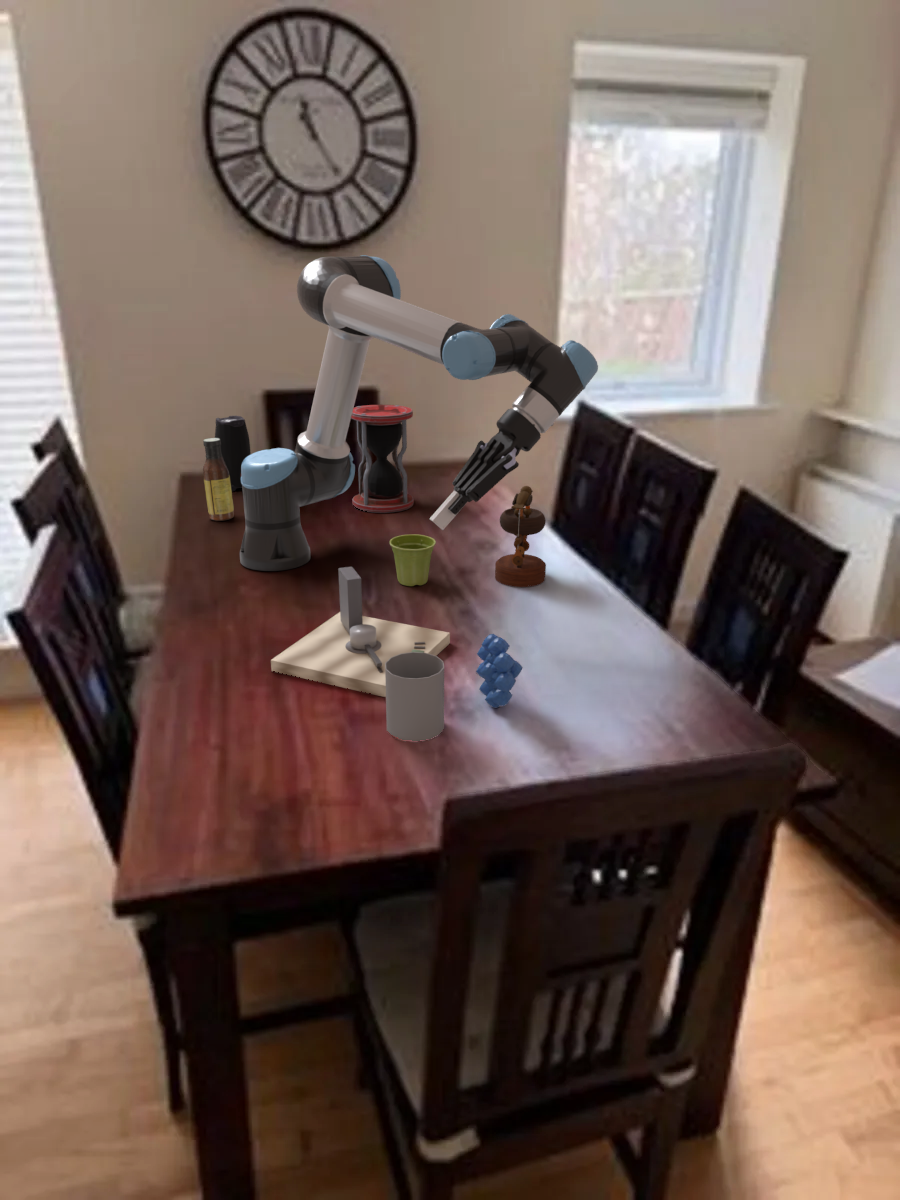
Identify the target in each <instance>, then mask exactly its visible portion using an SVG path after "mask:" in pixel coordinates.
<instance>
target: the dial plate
mask: <svg viewBox="0 0 900 1200" xmlns="http://www.w3.org/2000/svg"><path fill="white" fill-rule="evenodd" d="M362 619H363V624H367V625H372V626H374V627H375V628H376V646H374V647H373V648H372V649H373V651H374V652H375V654H376V655H377V656H378V658H379V659H380V661H381V662H382V666H381V667H377V666H376V665H375V663H374V662H373V660H372V659H371V657H370V656H369V654H368V653H367V651H366V650H365V649H355V648H353V647H351V645H350V634H349V633H348V631H347V630H346V628H345V627H344V625H343V624H342V622H341V617H340V611H339V612H337V613H336V614H335V615H334V616H332V617H331V618H329V619H327V620H326V621H325V622H323V623H322V624H321V625H319V626H318V627H316V628H315V629H313V630H311V631H310V632H309V633H308V634H305V636H303V637H302V638H300V639H299V640H297V641H296V642H295V643H293V644H292V645H290V646H289V647H287V648H286V649H285V650H283V651H282V652H281V653H279V654H277V655H275V656H274V657H273V658H272V659H270V668H271V672H273V671H275V672H274V673H278V672H279V673H278V674H282V673H283V675H286V674H287V676H291V675H292V676H291V677H295V676H296V678H299V677H300V679H305V680H308V679H309V680H308V681H312V680H313V681H314V682H317V681H318V683H321V682H322V684H326V685H331V686H334V685H335V687H339V688H343V689H347V688H348V689H349V690H352V691H357V692H361V691H362V692H361V693H365V692H366V693H365V694H369V693H371V694H370V695H375V696H378V697H384V698H386V677H385V663H386V662H387V661H388V660H389V659H390V658H391V657H393V656H396V655H399V654H402V653H410V652H420V653H428V654H431V655H435V656H437V657H438V655H439V654H441V652H442V651H443V650H444V649H445V648H446V647H447V646H449V644H450V642H451V632H448V631H443V630H437V629H432V628H427V627H423V626H417V625H412V624H406V623H402V622H396V621H391V620H386V619H380V618H375V617H369V616H365V615H362ZM313 681H312V682H313ZM348 689H347V690H348Z"/></svg>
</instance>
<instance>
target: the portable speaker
mask: <svg viewBox="0 0 900 1200" xmlns="http://www.w3.org/2000/svg"><path fill="white" fill-rule="evenodd" d="M245 419H246V418H244V417H243V416H241V415H229V416H227V417H216V418H215V431H214V438H218V439H220V442H221V445H220V447H221V454H222V457H223V460H224V462H225V464H226V467H227V469H228V471H229V476H230V483H231V491H232V492H235V491H236V490H237V489H241V488H242V484H241V465H242V462H243V460H244V459H245V458H246V457H247V456H249V455H251V454H252V453H251V443H250V436H249V432H248V428H247V424H246V420H245Z"/></svg>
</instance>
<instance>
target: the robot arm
mask: <svg viewBox="0 0 900 1200" xmlns="http://www.w3.org/2000/svg"><path fill="white" fill-rule="evenodd" d="M296 283H297V284H296V295H297V299H298V302H299V304H300V307H301V308H302V311H304V312H305V314H307V316H309V317H310V318H311V319H312V320H315V321H317V322H319V323H320V324H321V323H322V324H323V325H326V326H327V327H328V332H327V337H326V341H325V345H324V350H323V355H322V359H321V365H320V368H319V372H318V377H317V381H316V388H315V390H314V391H315V392H314V395H313V400H312V405H311V410H310V414H309V418H308V419H309V420H308V423H307V428H306V430H305V431H303V432H301V433H300V434H299V435H298V436H297V440H296V446H295V449H294V450H292V449H289V448H286V447H285V448H283V447H276V448H271V449H262V450H258V451H255V452H253V453H251V455H249V456H247V457H246V458H245V459H244V460H243V462H242V465H241V484H242V489H241V490H242V498H243V510H244V519H245V520H244V521H245V529H244V532H243V537H242V541H241V545H240V550H239V560H240V561H239V562H240V564H241V565H242V566H243V567H245V568H247V569H250V570H253V571H262V572H277V571H279V572H281V571H287V570H293V569H295V568H298V567H299V568H300V567H301V566H303V565H306V564H307V563H309V561H310V560H311V547H310V544H309V543H308V541H307V537H306V534H305V533H304V532H305V531H304V530H303V526H302V525H301V513H300V507H304V506H307V505H311V504H314V503H318V502H321V501H324V500H331V499H332V498H333V499H334V498H336V497H337V496H339V495H341V494H343V493H345V492H346V491H347V490H348V489H349V488H350V487H351V485H352V483H353V481H354V478H355V476H356V475H355V472H356V465H355V463H353V461H354V457H353V455H352V453H351V452H350V451H351V447H350V445H349V444H348V442H347V441H346V439H347V436H348V432H349V427H350V423H351V420H352V419H351V416H352V412H353V408H354V406H355V404H356V399H357V396H358V390H359V388H360V382H361V379H362V376H363V375H362V374H363V371H364V367H365V363H366V358H367V356H368V351H369V346H370V343H371V340H373V339H377V340H379V341H382V342H385V343H387V344H390V345H392V346H395V347H396V348H400V349H403V350H405V351H407V352H410V353H412V354H415V355H418V356H421V357H422V358H425V359H428V360H430V361H432V362H435V363H438V364H440V365H443V366H444V368H445V369H446V370H447V371H448V373H449V374H450V376H452V377H453V378H454V379H456V380H457V379H458V380H461V381H467V380H469V381H476V380H481V379H482V378H486V377H490V376H495V375H496V376H497V375H500V374H501V375H502V374H505V373H512V372H514V371H515V372H516V373H518V374H519V376H520V375H521V376H522V377H523V378H525V379H526V380H527V381H529V382H530V383H529V384H528V385H527V386H526V387H525V388H524V390H523V391H522V392H521V393H520V394H519V395H518V396H517V397H516V399H515V400H513V402H512V404H511V406H512V408H507V409H506V410H505V412H504V413H503V414H502V415H501V416H500V417H499V419H497V421H496V427H497V428H498V432H497V433H496V434H495V435H493V436H491V438H490V440H489V441H487V442H485V441H483V440H480V441H478V442H477V444H476V447H475V449H474V450H473V453H472V454H471V455H470V456H469V458H468V460H467V461H466V463H465V464H464V465H463V467H462V468H461V470H460V471H459V473H458V474H457V475H456V476H455V478H454V480H453V481H452V482H451V484H452V485H453V491H451V493H450V494H449V496H448V497H447V498H446V499H445V500H444V501H443V502H442V504H441V505H440V506H439V507H438V508H437V509H436V511H434V513H433V514H431V516H430V518H429V520H430V521H431V522H432V523H434V524H435V526H437V527H438V528H439V529H440V530H441V531H444V530H445V528H446V527H448V525H449V524H450V523H451V522H452V521H453V520H454V519H455V517H456V516H457V515H458V514H459V512H460V511H461V510H462V509H463V508H464V507H465V506H466V505H467V504H468V503H471V502H472V501H473V502H475V503H477V502H478V501H480V500H481V499H482V498H483V497H484V496H485V495H486V494H488V492H490V490H492V489H493V488H494V487H495V486H496V485H497V484H499V482H501V480H503V479H504V478H505V477H506V476H507V475H508V474H509V473H511V472H512V471H514V470H515V469H518V467H519V465H520V464H519V462H518V461H516V457H518V456H519V454H520V452H521V451H523V452H529V451H530V450H532V448H533V447H535V446H536V444H538V442H539V440H540V439H541V436H542V435H541V434H545V433H546V432H548V430H549V429H550V427H553V426H554V425H555V422H556V420H557V419H558V418H559V417H560V416H561V415H562V414H563V412H565V410H567V408H568V407H569V406H570V404H572V402H573V401H574V400H575V399H576V398H577V397H578V396H579V395H580V394H581V392H583V391H584V390H585V389H586V387H587V385H589V383H590V382H591V380H592V379H593V378H594V377H595V375H596V374H597V372H598V370H599V365H598V361H597V359H596V358H595V356H594V354H592V352H590V351H591V350H588V348H586V346H585V345H582V344H581V343H580V342H576V341H575V340H573V339H572V340H571V339H570V340H567V341H566V342H565V343H564V344H562V345H561V346H559V345H557V344H555V343H554V342H552V341H551V340H549V339H548V338H546V337H545V336H544V335H543V334H541V333H540V332H539V331H537V330H536V329H534V328H533V327H532V326H530V325H529V323H528V322H526V321H525V320H523V319H520V318H519V317H517V316H515V315H514V314H511V313H507V314H503V315H501V316H500V318H497V319H496V320H495V321H494V322H493V323H492V324H491V326H490V327H489V328H485V329H482V328H478V327H474V326H472V325H469V324H467V323H463V322H462V321H458V320H456V319H453V318H452V317H451V318H450V317H447V316H446V315H442V314H439V313H437V312H435V311H431V310H429V309H426V308H423V307H421V306H418V305H415V304H413V303H409V302H408V301H407V302H406V301H405V300H403V299H401V296H402V295H401V294H402V293H401V291H402V290H401V284H400V280H399V278H398V277H397V274H396V270H395V269H394V268H393V266H392V265H391V264H390V263H389V262H388V261H386V260H385V259H383V258H381V257H378V256H369V255H367V254H366V255H365V254H362V255H356V256H355V255H354V256H353V255H351V256H350V255H349V256H324V257H323V256H322V257H319V258H316V259H314V260H312V261H310V262H308V264H306V265H305V267H304V268H303V269H302V270H301V272H300V273H299V276H298V279H297V282H296Z"/></svg>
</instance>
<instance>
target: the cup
mask: <svg viewBox="0 0 900 1200" xmlns="http://www.w3.org/2000/svg"><path fill="white" fill-rule="evenodd" d="M385 677H386V697H385V707H386V708H385V709H386V711H385V713H386V715H385V716H386V720H385V721H386V732H387V731H388V732H389V733H390V734H391V735H393V736H395V737H398V738H399V739H402V740H412V741H420V740H426V739H431V738H433V737H435V736H437V735H439V734H440V733H441V732H442V733H443V731H444V730H445V664H444V661H443V660H442V659H441V658H440V657H438V655H437V656H435V655H431V654H428V653H420V652H410V653H402V654H399V655H396V656H393V657H391V658H390V659H389V660H388V661H387V662H386V663H385ZM443 729H444V730H443ZM442 730H443V731H442ZM388 732H387V733H388ZM389 733H388V734H389ZM442 733H441V734H442ZM390 734H389V735H390ZM441 734H440V735H441ZM391 735H390V736H391ZM440 735H439V736H440ZM437 737H438V736H437ZM435 738H436V737H435ZM399 739H398V740H399ZM433 739H434V738H433ZM431 740H432V739H431Z"/></svg>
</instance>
